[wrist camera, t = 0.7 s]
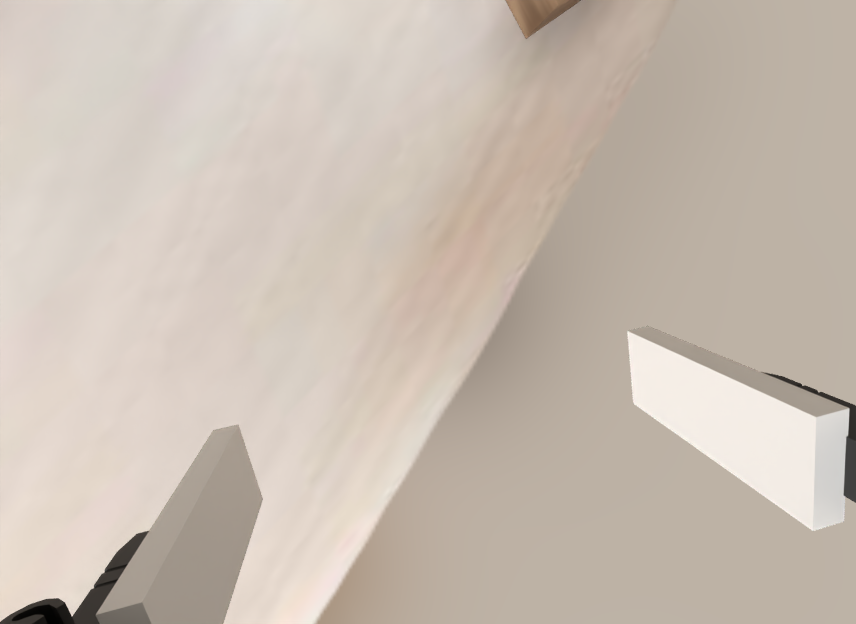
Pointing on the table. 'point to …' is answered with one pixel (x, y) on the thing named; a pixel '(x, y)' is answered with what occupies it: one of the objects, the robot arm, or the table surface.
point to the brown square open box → (537, 12)
